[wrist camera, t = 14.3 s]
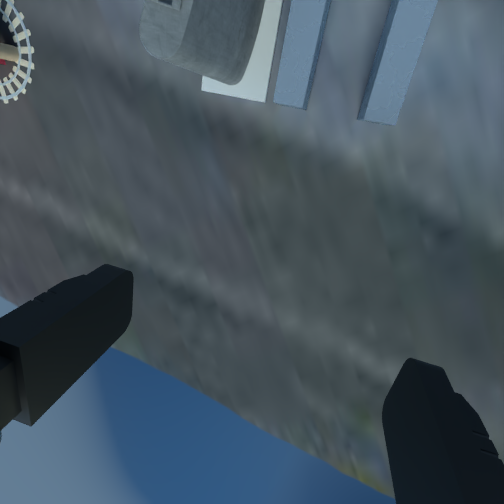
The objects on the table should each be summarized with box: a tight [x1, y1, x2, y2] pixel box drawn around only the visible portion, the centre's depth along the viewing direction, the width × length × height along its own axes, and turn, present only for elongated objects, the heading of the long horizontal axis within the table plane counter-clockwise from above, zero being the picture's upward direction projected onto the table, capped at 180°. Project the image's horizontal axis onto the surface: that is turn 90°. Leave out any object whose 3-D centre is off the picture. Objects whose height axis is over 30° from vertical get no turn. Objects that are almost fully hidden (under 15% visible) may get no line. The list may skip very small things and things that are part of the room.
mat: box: [202, 0, 283, 103], centre depth 34 cm, size 8×18×1 cm, turn 170°
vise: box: [273, 0, 438, 125], centre depth 30 cm, size 14×19×7 cm
